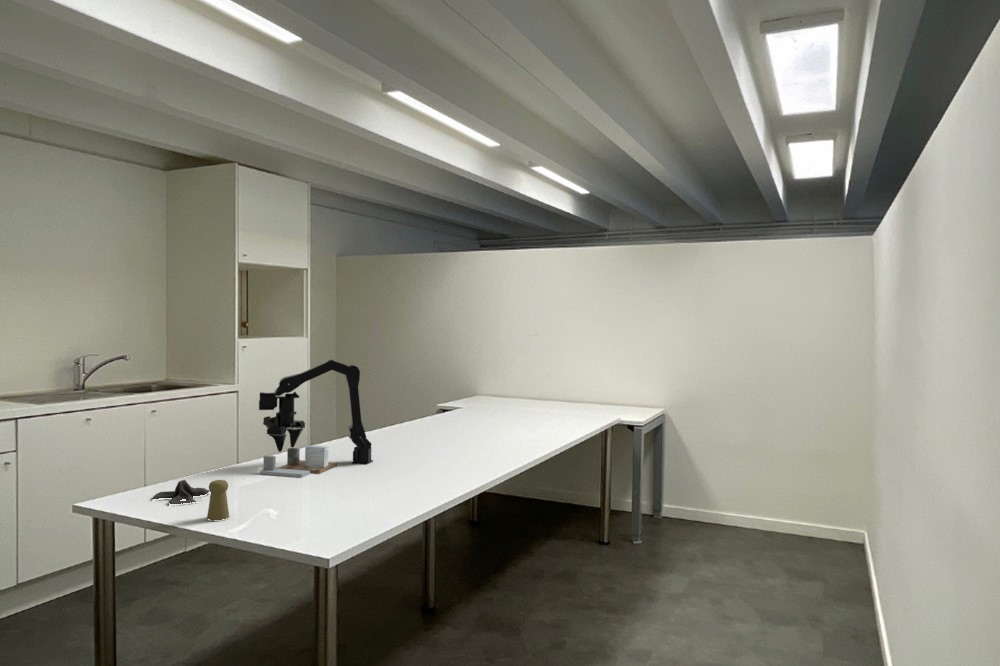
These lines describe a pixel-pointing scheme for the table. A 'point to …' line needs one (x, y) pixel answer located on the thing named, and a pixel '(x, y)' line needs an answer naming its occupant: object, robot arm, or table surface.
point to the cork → (218, 500)
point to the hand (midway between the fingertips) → (286, 449)
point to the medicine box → (316, 456)
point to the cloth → (182, 493)
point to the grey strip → (272, 470)
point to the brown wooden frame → (302, 462)
